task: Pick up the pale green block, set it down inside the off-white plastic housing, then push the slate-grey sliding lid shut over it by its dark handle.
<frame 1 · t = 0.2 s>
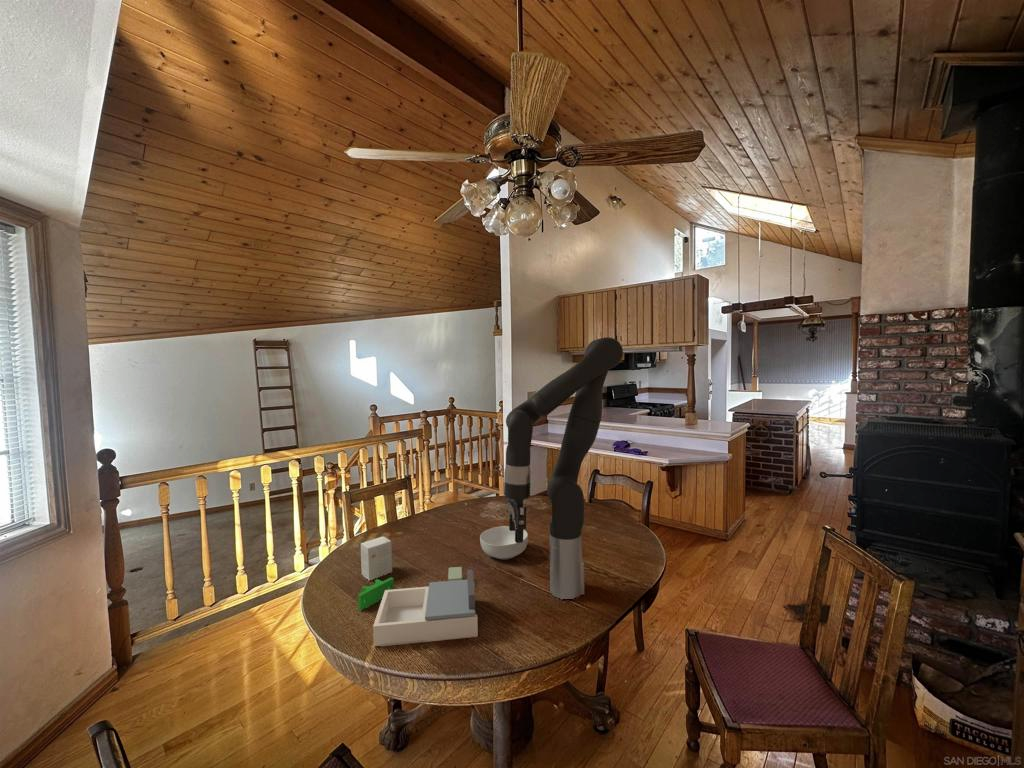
hand: (515, 536, 117), 17 cm above the table, tool pointing down, fingers open, 8 cm apart
small box: (376, 574, 131), on the table
pipe clamp: (374, 600, 117), on the table
pale green block: (455, 585, 124), on the table
lid: (450, 591, 106), point 7 cm above the table, slide at 12.0 cm
cereal bowl: (504, 554, 144), on the table
housing: (404, 623, 105), on the table
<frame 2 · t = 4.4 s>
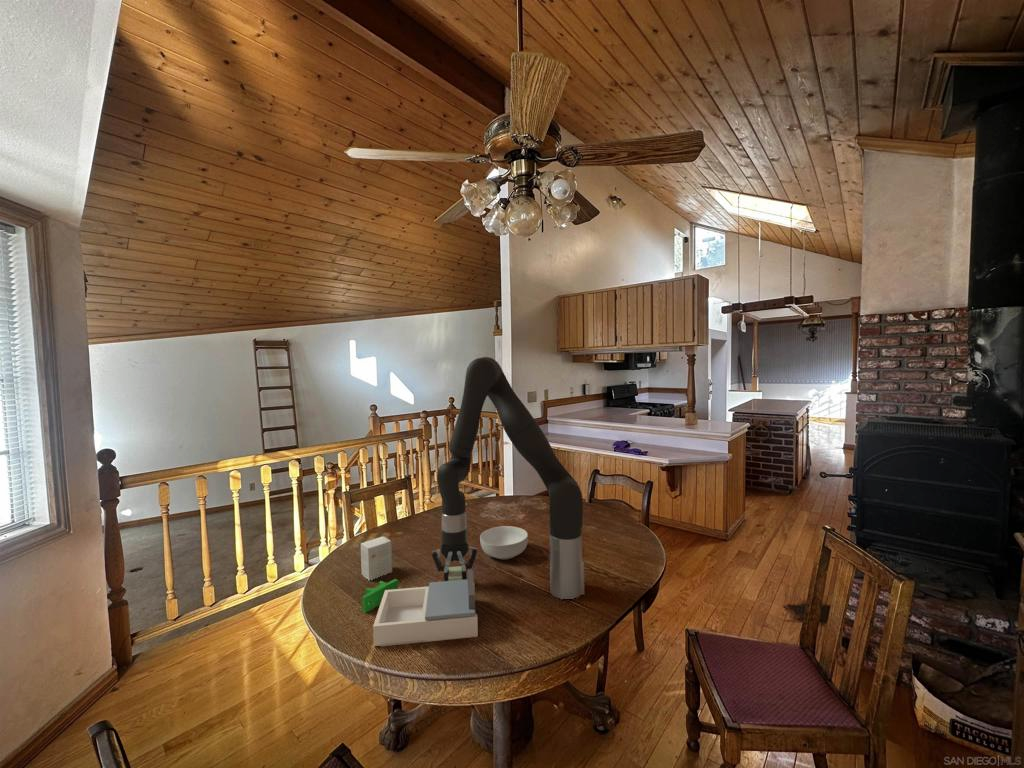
hand: (455, 582, 124), 1 cm above the table, tool pointing down, fingers closed on pale green block, 4 cm apart
pipe clamp: (378, 602, 116), on the table
pale green block: (455, 585, 124), on the table, touching gripper
everything else where it was.
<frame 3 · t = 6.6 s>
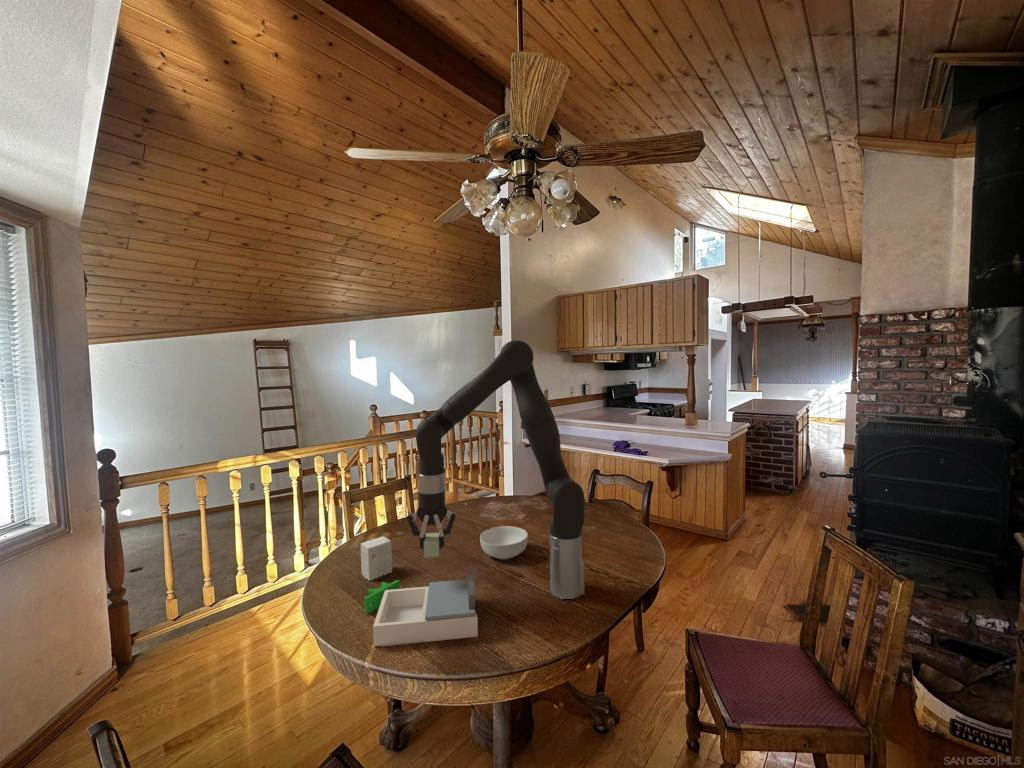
hand: (432, 548, 115), 15 cm above the table, tool pointing down, fingers closed on pale green block, 4 cm apart
pale green block: (432, 551, 115), point 14 cm above the table, touching gripper
when the fingers open (6 cm above the table, at t = 9.1 s): pale green block drops 5 cm, resting on housing.
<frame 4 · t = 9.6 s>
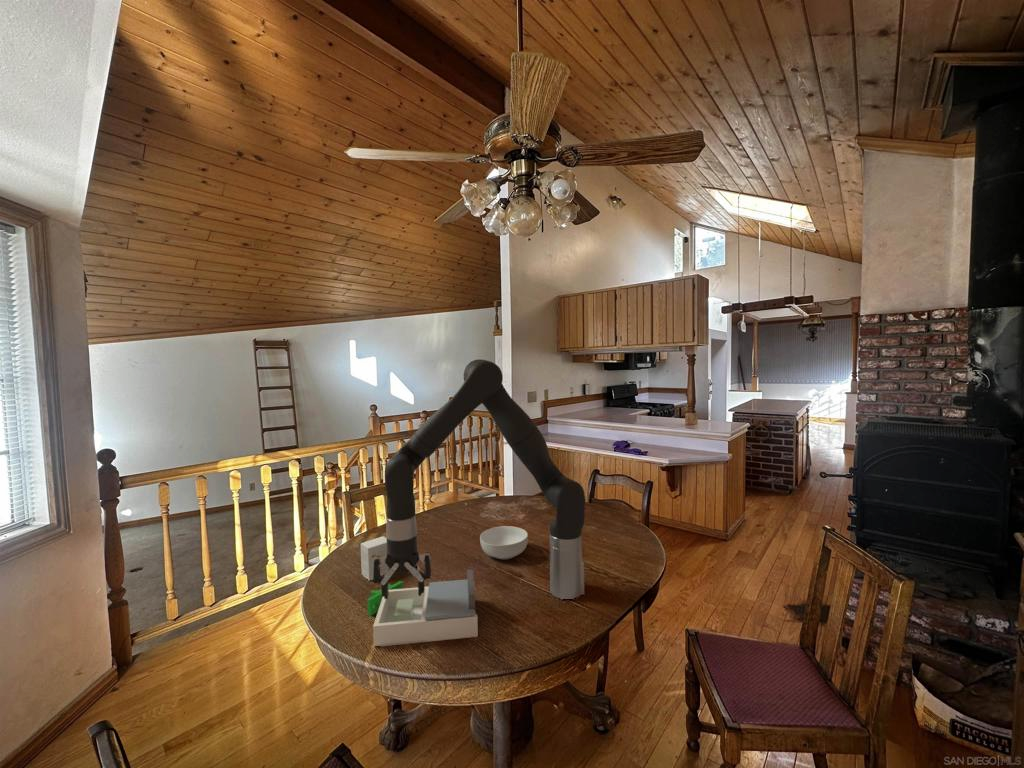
hand: (403, 595, 105), 7 cm above the table, tool pointing down, fingers open, 8 cm apart
pipe clamp: (383, 605, 114), on the table
pale green block: (404, 621, 105), resting on housing
everything else where it was.
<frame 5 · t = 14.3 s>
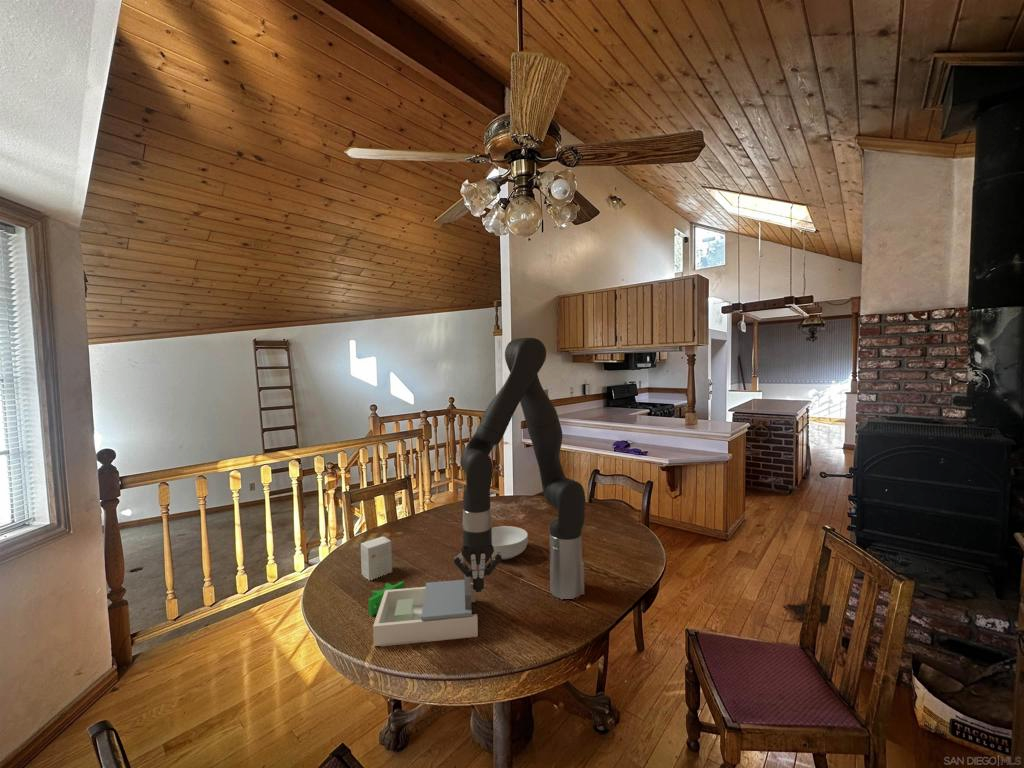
hand: (478, 590, 107), 7 cm above the table, tool pointing down, fingers closed
lid: (447, 591, 106), point 7 cm above the table, slide at 11.1 cm, touching gripper
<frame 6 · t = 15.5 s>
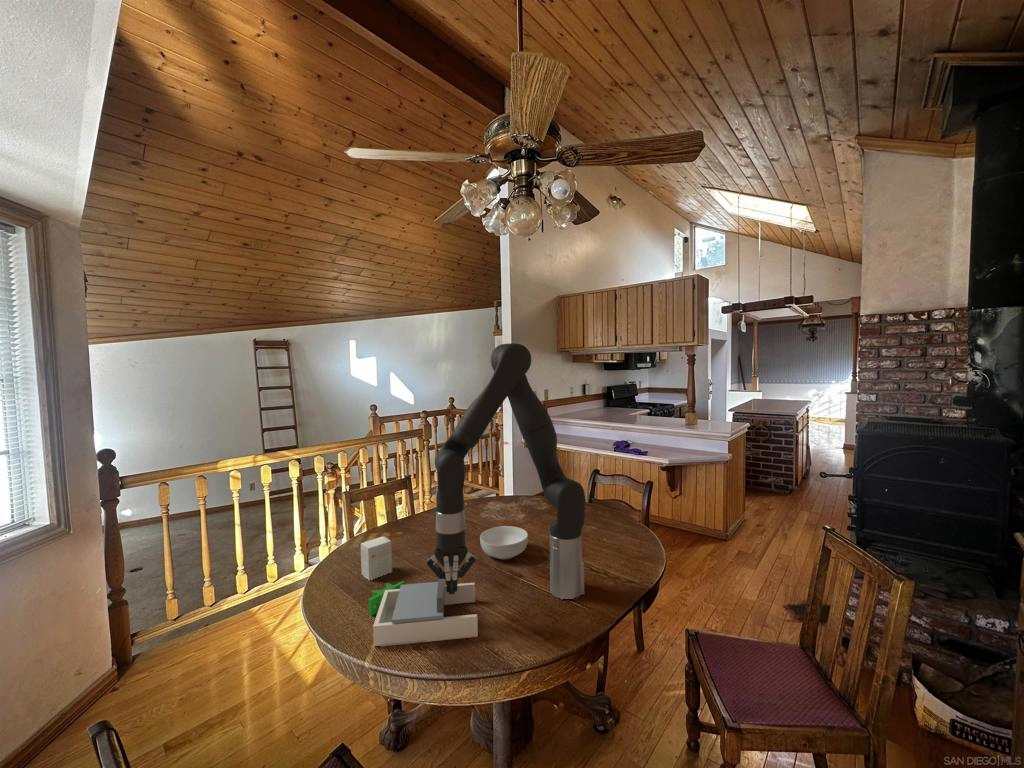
hand: (451, 592, 106), 7 cm above the table, tool pointing down, fingers closed
lid: (420, 593, 105), point 7 cm above the table, slide at 4.3 cm, touching gripper
everything else where it was.
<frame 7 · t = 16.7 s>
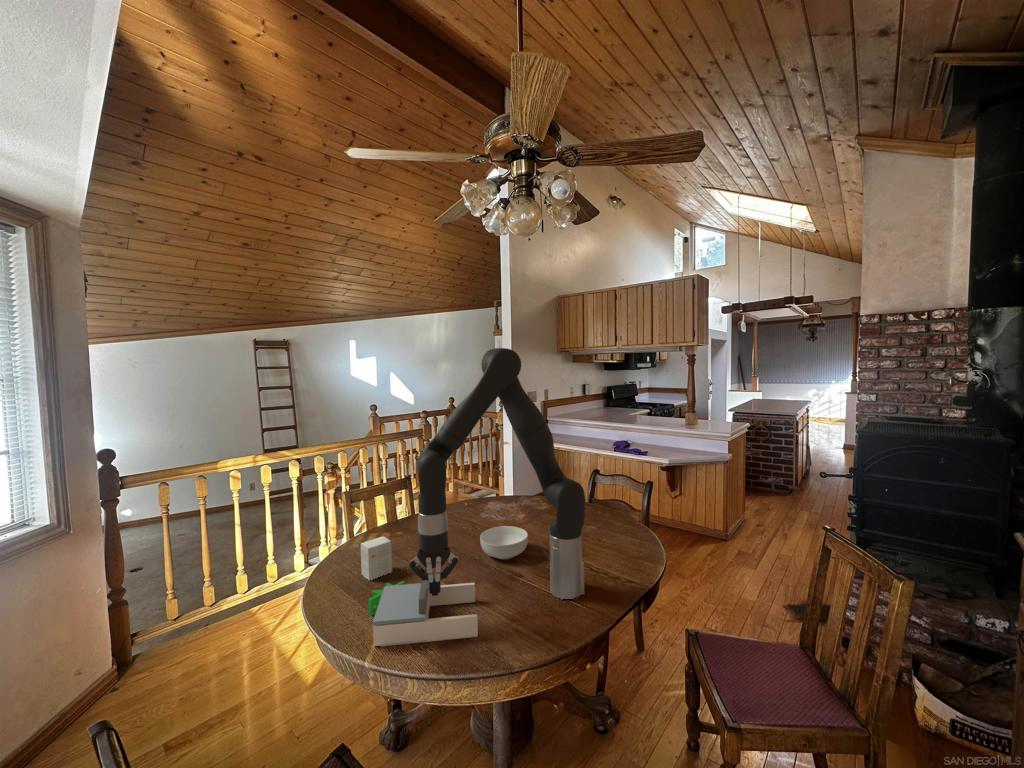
hand: (435, 594, 106), 7 cm above the table, tool pointing down, fingers closed
lid: (403, 595, 105), point 7 cm above the table, slide at -0.1 cm, touching gripper
everything else where it was.
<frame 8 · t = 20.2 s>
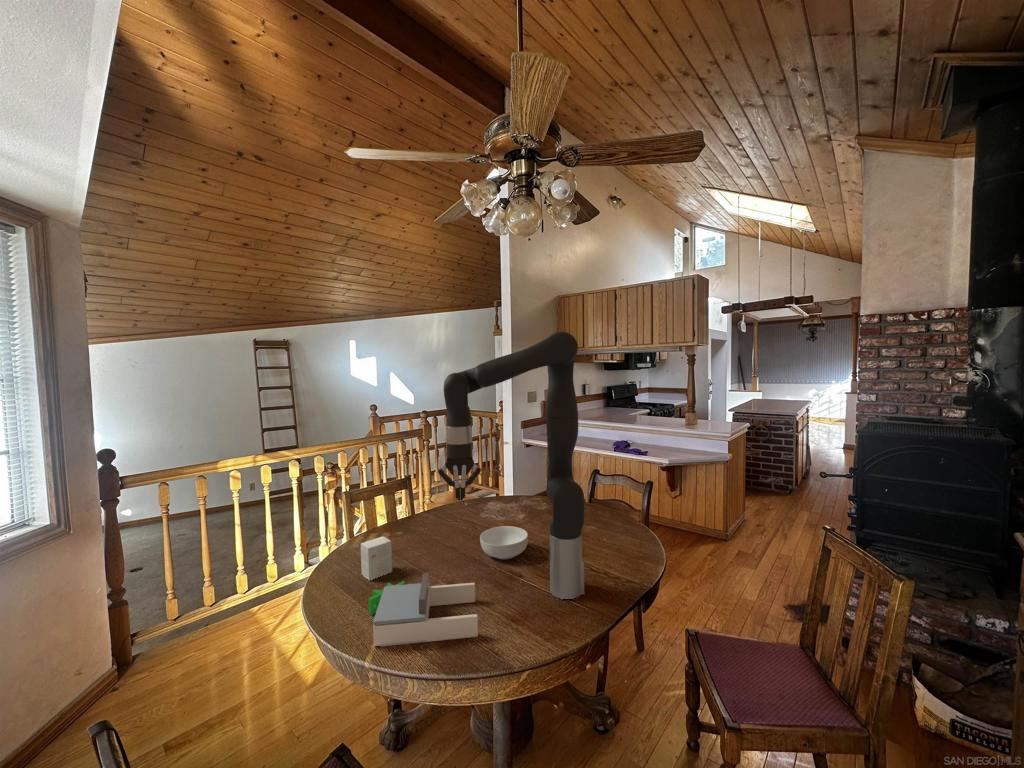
hand: (460, 499, 120), 27 cm above the table, tool pointing down, fingers closed
lid: (403, 595, 105), point 7 cm above the table, slide at 0.0 cm
everything else where it was.
at the end: pale green block inside the target area on the housing (0.1 cm from its centre), point 0.5 cm above the housing's base; lid slide at 0.0 cm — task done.
